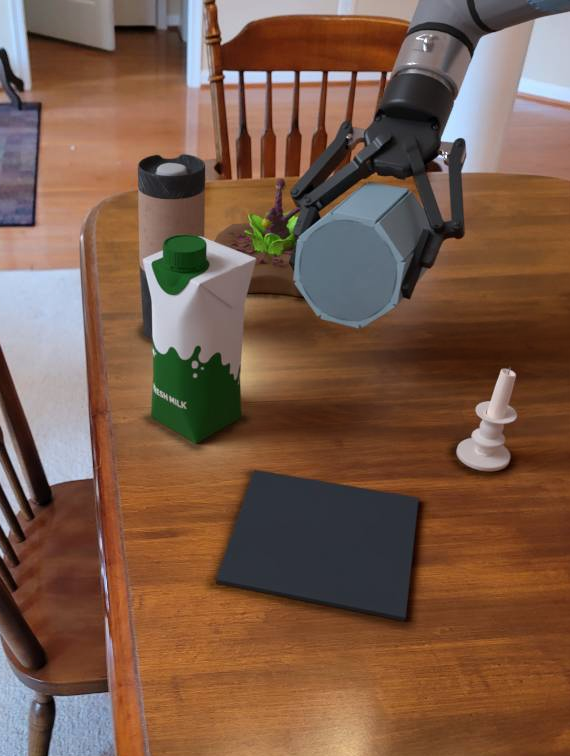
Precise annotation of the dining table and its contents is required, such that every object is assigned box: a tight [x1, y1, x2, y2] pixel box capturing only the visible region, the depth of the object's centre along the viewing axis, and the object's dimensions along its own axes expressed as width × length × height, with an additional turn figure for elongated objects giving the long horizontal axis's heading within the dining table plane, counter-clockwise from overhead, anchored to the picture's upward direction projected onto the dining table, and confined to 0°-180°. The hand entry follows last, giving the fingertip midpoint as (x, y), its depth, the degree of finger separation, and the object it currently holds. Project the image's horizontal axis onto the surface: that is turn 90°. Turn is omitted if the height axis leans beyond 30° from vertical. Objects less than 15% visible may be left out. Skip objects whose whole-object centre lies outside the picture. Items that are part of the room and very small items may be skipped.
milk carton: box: [143, 235, 256, 444], centre depth 84 cm, size 9×9×20 cm
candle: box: [455, 366, 518, 472], centre depth 81 cm, size 5×5×10 cm
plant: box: [214, 178, 321, 298], centre depth 115 cm, size 20×20×11 cm
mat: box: [215, 469, 420, 622], centre depth 76 cm, size 16×16×1 cm
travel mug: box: [137, 153, 206, 340], centre depth 98 cm, size 8×8×20 cm
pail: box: [293, 181, 431, 329], centre depth 92 cm, size 10×12×12 cm
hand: (348, 280), depth 90 cm, fingers closed on pail, 12 cm apart
